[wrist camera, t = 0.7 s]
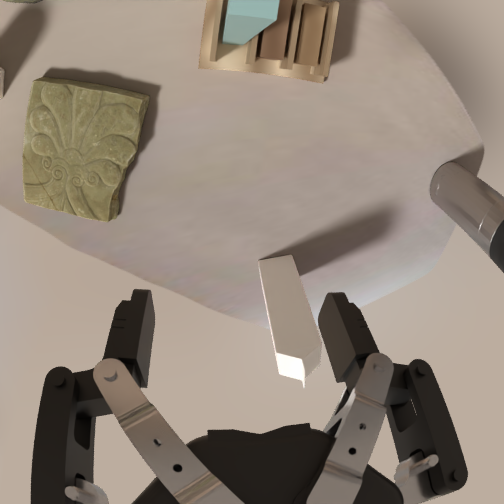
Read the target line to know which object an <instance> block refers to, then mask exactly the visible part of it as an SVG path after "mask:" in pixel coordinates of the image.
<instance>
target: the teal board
mask: <svg viewBox="0 0 504 504" xmlns="http://www.w3.org/2000/svg"><path fill="white" fill-rule="evenodd" d="M278 7H279V0H228V5H227V12H226V19H225V26H224V33H223V41H222V44H231V45H242V46H243V45H244V44H245V43H246V42H248V41H249V40H250V39H252V38H253V37H254V36H255V35H257V34H258V33H259V32H261V31H262V30H263V29H265V28H266V27H267V26H269V25H270V24H272V23H273V22H274V21H276V20H277V13H278Z"/></svg>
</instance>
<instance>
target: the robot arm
mask: <svg viewBox="0 0 504 504" xmlns="http://www.w3.org/2000/svg"><path fill="white" fill-rule="evenodd" d="M430 195H431V198H432V200H433V202H434V203H435V204H436V205H438V206H439V207H440V208H441V209H442V210H443V211H444V212H445V213H446V214H447V215H448V216H449V217H450V218H452V219H453V220H454V221H455V222H456V223H457V224H458V225H459V226H460V227H461V228H462V229H463V230H464V231H465V232H466V233H467V234H468V235H469V236H470V237H471V238H472V239H473V240H474V241H475V242H476V243H477V244H478V245H479V246H480V247H481V248H482V249H483V251H484V252H485V253H486V254H487V255H488V256H489V257H490V258H491V259H492V260H493V261H494V263H495V264H496V265H497V266H498V267H499V268H500V269H501V270H502V272H503V273H504V197H503V196H502V195H501V194H500V193H498V192H497V191H496V190H494V189H493V188H492V187H490V186H489V185H488V184H486V183H485V182H483V181H482V180H481V179H479V178H478V177H476V176H475V175H474V174H472V173H471V172H469V171H468V170H466V169H465V168H463V167H462V166H460V165H459V164H457V163H455V162H449V163H446V164H444V165H442V166H441V167H440V168H439V169H438V170H437V171H436V173H435V175H434V177H433V179H432V182H431V186H430ZM318 325H319V329H320V332H321V335H322V338H323V341H324V344H325V347H326V350H327V353H328V356H329V359H330V362H331V366H332V369H333V372H334V375H335V378H336V382H337V383H339V382H345V383H346V387H345V389H344V391H343V394H342V396H341V398H340V400H339V402H338V405H337V407H336V409H335V411H334V413H333V415H332V417H331V419H330V421H329V422H328V424H327V425H326V427H325V429H324V430H323V431H320V430H316V429H311V428H310V424H309V423H305V424H297V425H289V426H284V427H281V428H278V429H275V430H272V431H269V432H266V433H263V434H256V433H250V432H244V431H239V430H233V429H232V430H208V435H206V436H202V437H199V438H196V439H194V440H192V441H190V442H189V443H187V444H186V445H185V444H184V442H182V440H181V439H180V438H179V437H178V435H177V434H176V433H175V432H174V431H173V429H172V428H171V427H170V426H169V424H168V423H167V422H166V421H165V419H164V418H163V417H162V415H161V414H160V413H159V411H158V410H157V409H156V408H155V406H154V405H152V404H151V403H150V402H149V401H148V399H147V398H146V397H145V395H144V394H143V392H142V391H141V389H140V387H142V388H147V384H148V375H149V366H150V357H151V349H152V341H153V334H154V327H155V312H154V306H153V300H152V294H151V290H142V289H134V290H133V294H132V297H131V301H126V300H122V302H121V303H120V304H119V305H118V307H117V308H116V310H115V314H114V317H113V321H112V325H111V329H110V332H109V336H108V341H107V345H106V348H105V353H104V357H103V359H102V361H100V362H99V363H98V364H97V365H96V366H95V368H93V369H90V370H87V371H81V372H75V373H72V372H71V370H69V369H68V368H66V367H56V368H53V369H52V370H50V371H49V373H48V374H47V375H46V378H45V382H44V386H43V391H42V396H41V401H40V407H39V413H38V418H37V425H36V432H35V440H34V449H33V459H32V474H31V504H109V502H108V498H107V495H106V494H105V492H104V491H103V490H102V489H101V488H100V487H98V486H97V485H94V484H93V466H94V465H93V464H94V438H95V423H96V417H97V416H102V415H107V414H114V415H115V417H116V418H117V420H118V422H119V424H120V426H121V427H122V429H123V430H124V432H125V434H126V435H127V436H128V438H129V439H130V441H131V442H132V443H133V445H134V447H135V448H136V449H137V451H138V452H139V453H140V455H141V456H142V458H143V459H144V460H145V462H146V463H147V464H148V466H149V467H150V468H151V469H152V471H153V472H154V473H155V474H156V476H157V477H156V478H155V479H154V480H153V481H152V482H151V483H150V485H149V486H148V487H147V488H146V489H145V490H144V491H143V492H142V493H141V494H140V495H139V496H138V498H137V499H136V500H135V501H134V502H133V503H132V504H419V503H422V502H425V501H428V500H431V499H435V498H437V497H440V496H443V495H446V494H449V493H451V492H454V491H456V490H459V489H460V488H462V487H463V486H464V485H465V483H466V481H467V477H468V471H467V467H466V463H465V460H464V456H463V453H462V450H461V447H460V443H459V440H458V437H457V434H456V431H455V428H454V425H453V422H452V419H451V417H450V414H449V411H448V408H447V406H446V403H445V401H444V398H443V395H442V393H441V391H440V388H439V385H438V383H437V381H436V378H435V376H434V373H433V371H432V369H431V367H430V365H429V364H428V363H427V362H425V361H424V360H421V359H415V360H413V361H412V362H411V363H410V364H409V365H402V364H396V363H392V361H391V360H390V358H389V357H388V356H386V355H384V354H382V353H380V352H379V350H378V348H377V345H376V344H375V341H374V339H373V337H372V334H371V332H370V330H369V328H368V325H367V323H366V321H364V317H363V315H362V313H361V311H360V309H359V308H358V307H357V306H356V305H355V304H354V303H349V301H348V299H347V297H346V295H345V293H343V292H338V293H328V294H327V295H326V298H325V300H324V303H323V305H322V308H321V310H320V313H319V316H318ZM411 399H412V401H411ZM412 402H413V404H412ZM413 405H414V407H413ZM414 408H415V410H414ZM415 411H416V413H415ZM385 414H387V418H388V421H389V424H390V428H391V432H392V435H393V439H394V443H395V447H396V450H397V455H398V459H399V463H400V464H399V465H398V466H397V469H396V473H395V475H394V479H395V481H396V482H395V483H393V482H392V481H390V480H389V479H388V478H386V477H385V476H383V475H382V474H381V473H379V472H378V471H377V470H375V469H374V468H372V467H371V466H370V465H369V464H367V463H368V461H369V459H370V456H371V453H372V451H373V448H374V446H375V443H376V440H377V438H378V435H379V432H380V429H381V426H382V423H383V420H384V417H385ZM416 414H417V416H416Z"/></svg>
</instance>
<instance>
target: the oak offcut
mask: <svg viewBox="0 0 504 504" xmlns="http://www.w3.org/2000/svg"><path fill="white" fill-rule="evenodd" d="M325 12H326V8H325V7H321V6H317V5H313V4H309V3H304V4H302V9H301V16H300V22H299V29H298V36H297V42H296V49H295V55H294V62H293V63H294V64H299V65H304V66H313V67H317V63H318V57H319V50H320V44H321V38H322V31H323V25H324V18H325Z"/></svg>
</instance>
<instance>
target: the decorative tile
mask: <svg viewBox="0 0 504 504" xmlns="http://www.w3.org/2000/svg"><path fill="white" fill-rule="evenodd" d="M149 99H150V96H148V95H145V94H141V93H137V92H133V91H129V90H124V89H120V88H115V87H110V86H105V85H100V84H94V83H88V82H81V81H74V80H67V79H58V78H48V77H42V78H39V79H36V80H34V81H33V83H32V87H31V92H30V97H29V103H28V110H27V116H26V122H25V132H24V146H23V192H24V200H25V202H27V203H30V204H33V205H37V206H40V207H43V208H48V209H52V210H56V211H60V212H65V213H68V214H72V215H76V216H80V217H83V218H87V219H92V220H98V221H103V222H109V221H110V220H111V219H116V218H117V214H118V210H119V198H118V194H119V190H120V187H121V185H122V182H123V181H124V179H125V173H126V170H127V168H128V166H129V165H130V164H131V163H132V162H133V161H134V158H135V154H136V152H137V149H138V143H139V139H140V133H141V128H142V124H143V121H144V116H145V113H146V110H147V107H148V105H149Z"/></svg>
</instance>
